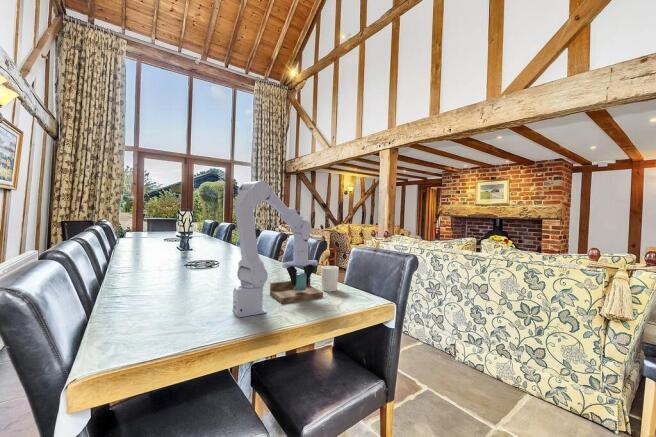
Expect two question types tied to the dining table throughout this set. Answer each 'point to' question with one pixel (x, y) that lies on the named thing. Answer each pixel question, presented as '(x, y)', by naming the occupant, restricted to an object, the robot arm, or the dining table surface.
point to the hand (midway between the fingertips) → (299, 284)
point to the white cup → (329, 278)
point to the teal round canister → (300, 281)
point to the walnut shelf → (292, 292)
